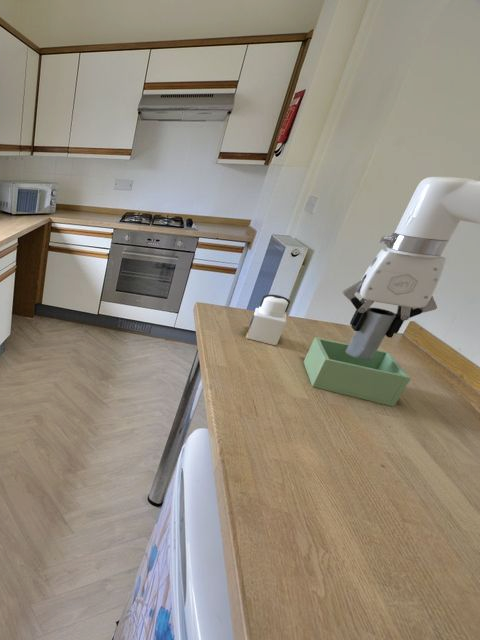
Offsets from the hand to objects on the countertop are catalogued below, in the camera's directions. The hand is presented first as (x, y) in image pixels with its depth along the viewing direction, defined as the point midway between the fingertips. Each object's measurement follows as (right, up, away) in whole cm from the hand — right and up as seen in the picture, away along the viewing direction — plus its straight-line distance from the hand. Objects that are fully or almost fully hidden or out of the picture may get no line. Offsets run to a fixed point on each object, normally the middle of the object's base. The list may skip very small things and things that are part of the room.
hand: (371, 331), depth 86 cm
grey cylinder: (0, -5, +3) cm, 6 cm away
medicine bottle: (-4, -1, +26) cm, 27 cm away
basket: (-1, -11, +5) cm, 13 cm away
